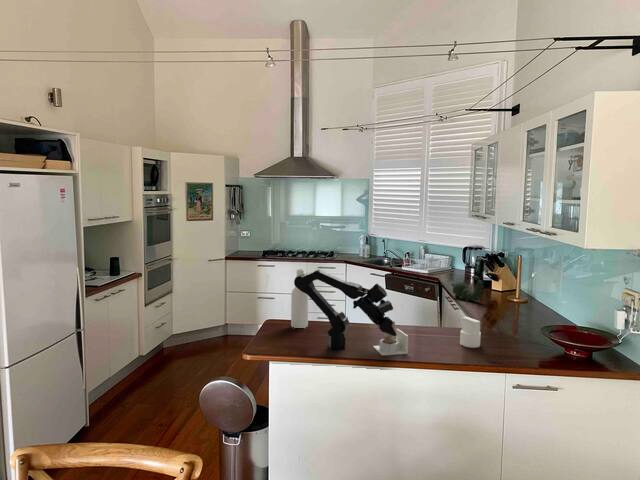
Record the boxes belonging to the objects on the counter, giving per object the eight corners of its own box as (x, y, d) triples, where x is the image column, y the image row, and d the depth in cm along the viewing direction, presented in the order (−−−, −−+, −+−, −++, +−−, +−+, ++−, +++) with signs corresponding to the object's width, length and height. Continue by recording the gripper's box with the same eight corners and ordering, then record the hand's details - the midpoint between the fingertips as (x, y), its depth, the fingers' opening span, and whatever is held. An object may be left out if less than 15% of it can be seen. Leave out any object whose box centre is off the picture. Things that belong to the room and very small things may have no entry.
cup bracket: (382, 355, 193) (382, 337, 193) (373, 347, 204) (373, 329, 203) (407, 353, 196) (408, 335, 196) (397, 345, 207) (397, 328, 206)
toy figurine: (484, 305, 298) (454, 294, 319) (487, 277, 295) (457, 268, 315) (474, 306, 293) (445, 295, 314) (478, 278, 290) (448, 269, 310)
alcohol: (311, 327, 232) (312, 270, 230) (295, 330, 228) (296, 271, 225) (302, 323, 240) (303, 267, 237) (288, 325, 236) (288, 268, 233)
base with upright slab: (455, 342, 213) (457, 317, 212) (470, 340, 217) (472, 316, 216) (469, 348, 205) (470, 322, 204) (484, 346, 209) (485, 320, 207)
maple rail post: (386, 351, 197) (387, 323, 196) (382, 347, 202) (383, 320, 200) (395, 350, 198) (396, 322, 197) (391, 347, 203) (392, 320, 202)
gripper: (388, 300, 188) (413, 325, 191) (376, 290, 206) (398, 314, 209) (369, 319, 188) (394, 344, 190) (359, 308, 206) (381, 331, 209)
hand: (392, 332), depth 200 cm, fingers open, 9 cm apart
